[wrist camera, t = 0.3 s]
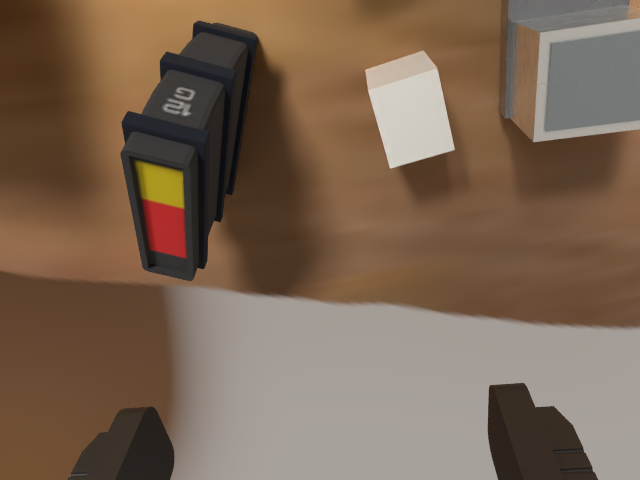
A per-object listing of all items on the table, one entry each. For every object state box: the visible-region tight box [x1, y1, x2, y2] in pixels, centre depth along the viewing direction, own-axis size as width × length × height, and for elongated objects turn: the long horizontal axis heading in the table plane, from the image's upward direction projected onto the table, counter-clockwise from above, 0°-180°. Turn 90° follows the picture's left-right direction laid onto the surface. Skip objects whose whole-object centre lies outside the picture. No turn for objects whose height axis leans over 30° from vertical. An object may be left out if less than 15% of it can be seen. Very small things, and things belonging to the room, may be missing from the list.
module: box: [365, 50, 455, 169], centre depth 32 cm, size 5×4×6 cm
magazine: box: [121, 21, 258, 281], centre depth 31 cm, size 4×13×15 cm, turn 166°
